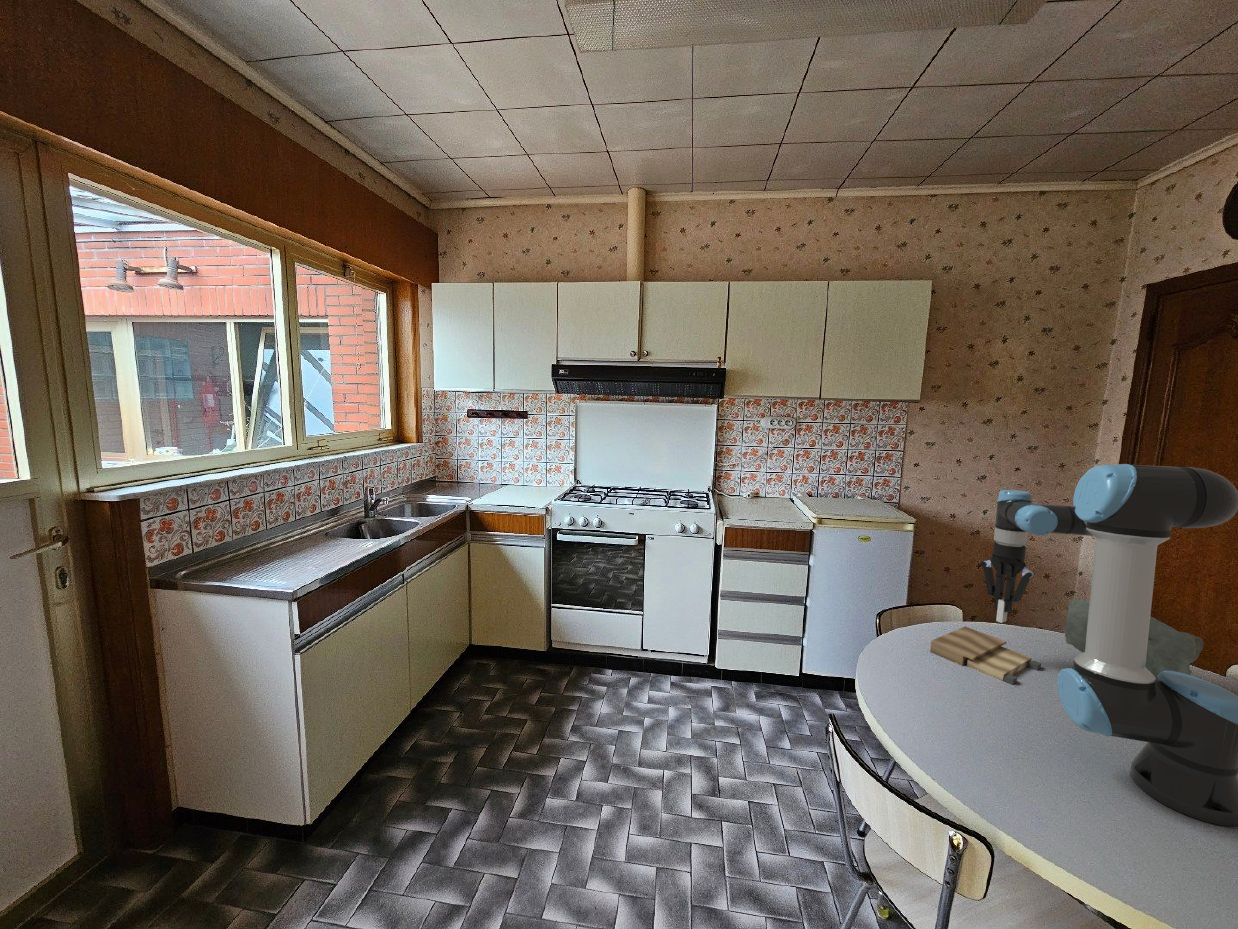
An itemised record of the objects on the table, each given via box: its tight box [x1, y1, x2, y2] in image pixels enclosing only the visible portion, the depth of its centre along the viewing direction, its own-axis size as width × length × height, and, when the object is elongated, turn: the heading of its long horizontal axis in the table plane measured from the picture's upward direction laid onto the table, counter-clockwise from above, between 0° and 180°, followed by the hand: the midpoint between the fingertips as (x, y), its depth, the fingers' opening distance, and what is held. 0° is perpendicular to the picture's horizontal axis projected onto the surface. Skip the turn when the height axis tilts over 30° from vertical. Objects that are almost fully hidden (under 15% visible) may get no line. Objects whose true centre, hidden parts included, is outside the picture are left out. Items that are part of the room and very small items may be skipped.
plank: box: [966, 645, 1033, 682], centre depth 146 cm, size 18×9×5 cm, turn 121°
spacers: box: [1003, 659, 1042, 685], centre depth 141 cm, size 17×2×2 cm, turn 120°
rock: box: [1064, 598, 1204, 679], centre depth 141 cm, size 27×6×20 cm, turn 42°
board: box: [929, 626, 1007, 666], centre depth 153 cm, size 20×12×4 cm, turn 120°
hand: (1001, 621), depth 148 cm, fingers closed
